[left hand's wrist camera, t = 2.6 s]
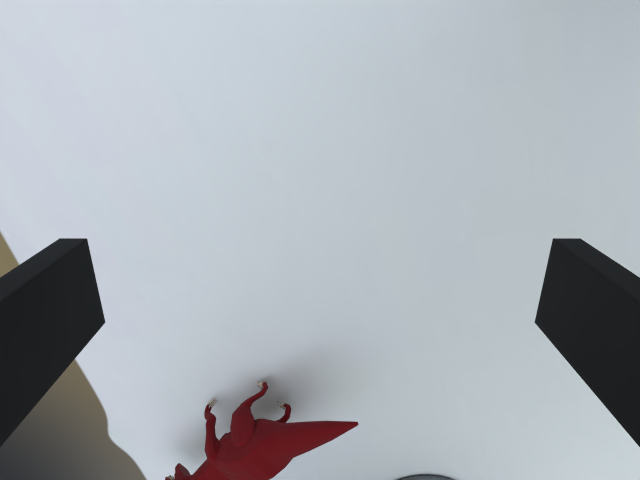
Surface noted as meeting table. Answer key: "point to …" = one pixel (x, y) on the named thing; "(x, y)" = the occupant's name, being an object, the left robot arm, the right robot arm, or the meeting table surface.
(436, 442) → the meeting table surface
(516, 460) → the meeting table surface
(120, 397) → the meeting table surface
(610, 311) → the left robot arm
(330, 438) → the toy
